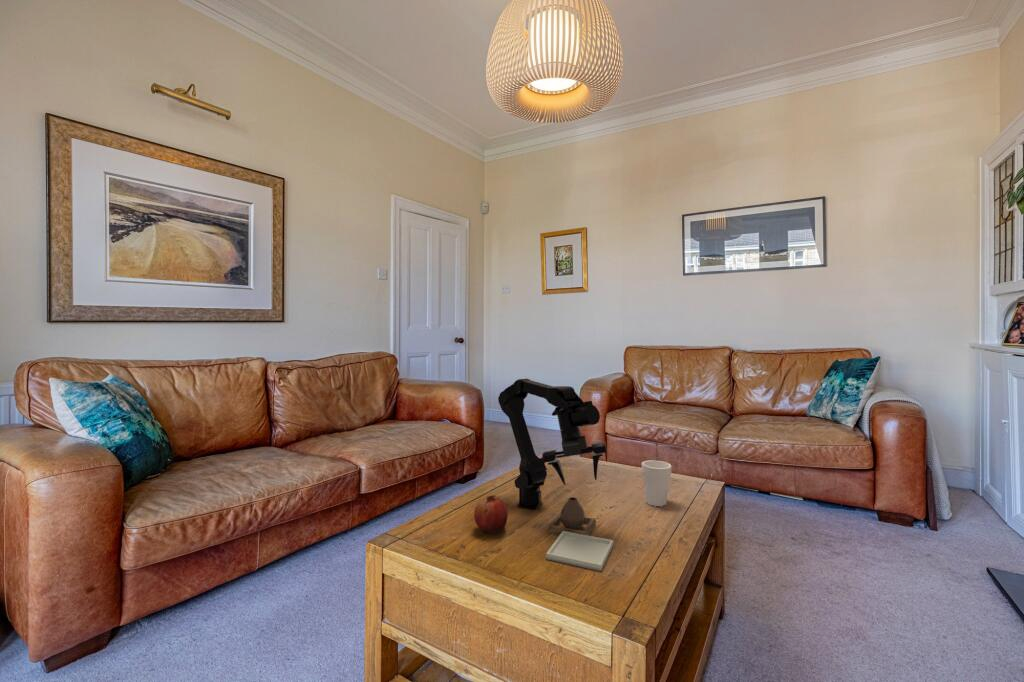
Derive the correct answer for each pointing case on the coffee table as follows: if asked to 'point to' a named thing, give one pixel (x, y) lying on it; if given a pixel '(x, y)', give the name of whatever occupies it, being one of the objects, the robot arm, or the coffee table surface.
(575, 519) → the vase
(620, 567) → the coffee table surface
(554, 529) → the holder
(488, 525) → the fruit
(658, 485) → the foam cup
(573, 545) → the tray
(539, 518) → the coffee table surface
